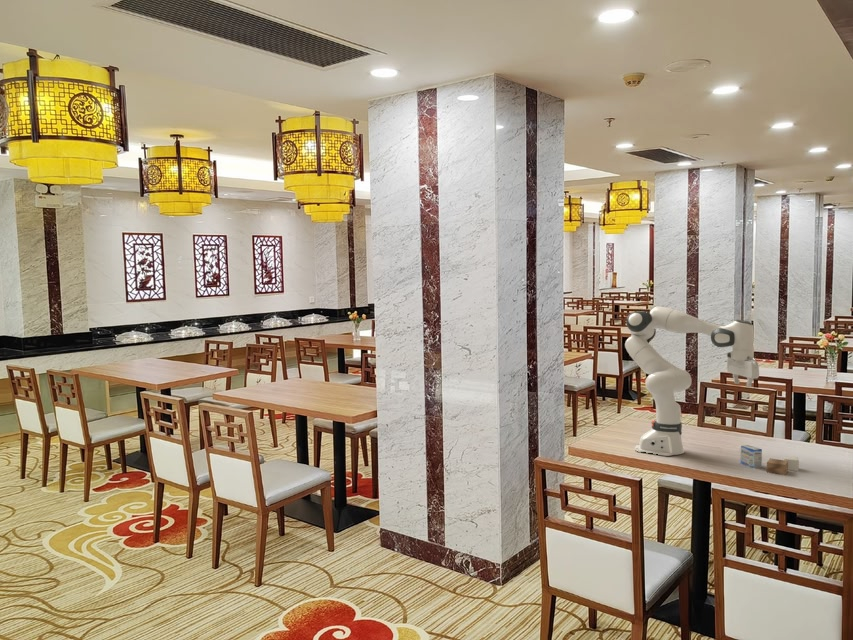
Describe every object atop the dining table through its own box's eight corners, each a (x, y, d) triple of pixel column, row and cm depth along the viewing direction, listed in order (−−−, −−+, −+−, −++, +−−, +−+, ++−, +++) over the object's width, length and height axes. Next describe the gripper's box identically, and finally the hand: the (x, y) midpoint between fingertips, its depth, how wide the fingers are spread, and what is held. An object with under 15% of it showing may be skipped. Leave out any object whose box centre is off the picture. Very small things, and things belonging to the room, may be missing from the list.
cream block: (785, 470, 289) (785, 459, 289) (784, 467, 294) (784, 456, 294) (798, 471, 287) (798, 460, 287) (797, 468, 292) (797, 457, 292)
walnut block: (766, 473, 286) (766, 462, 286) (770, 469, 291) (770, 458, 291) (784, 476, 282) (785, 464, 281) (787, 472, 287) (788, 460, 287)
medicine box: (740, 464, 299) (740, 445, 299) (747, 463, 301) (748, 444, 300) (754, 469, 292) (754, 449, 291) (762, 468, 293) (762, 448, 293)
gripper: (763, 358, 296) (762, 388, 297) (737, 352, 316) (736, 381, 317) (749, 358, 295) (749, 389, 296) (724, 353, 315) (724, 382, 316)
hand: (742, 385), depth 307 cm, fingers open, 8 cm apart
